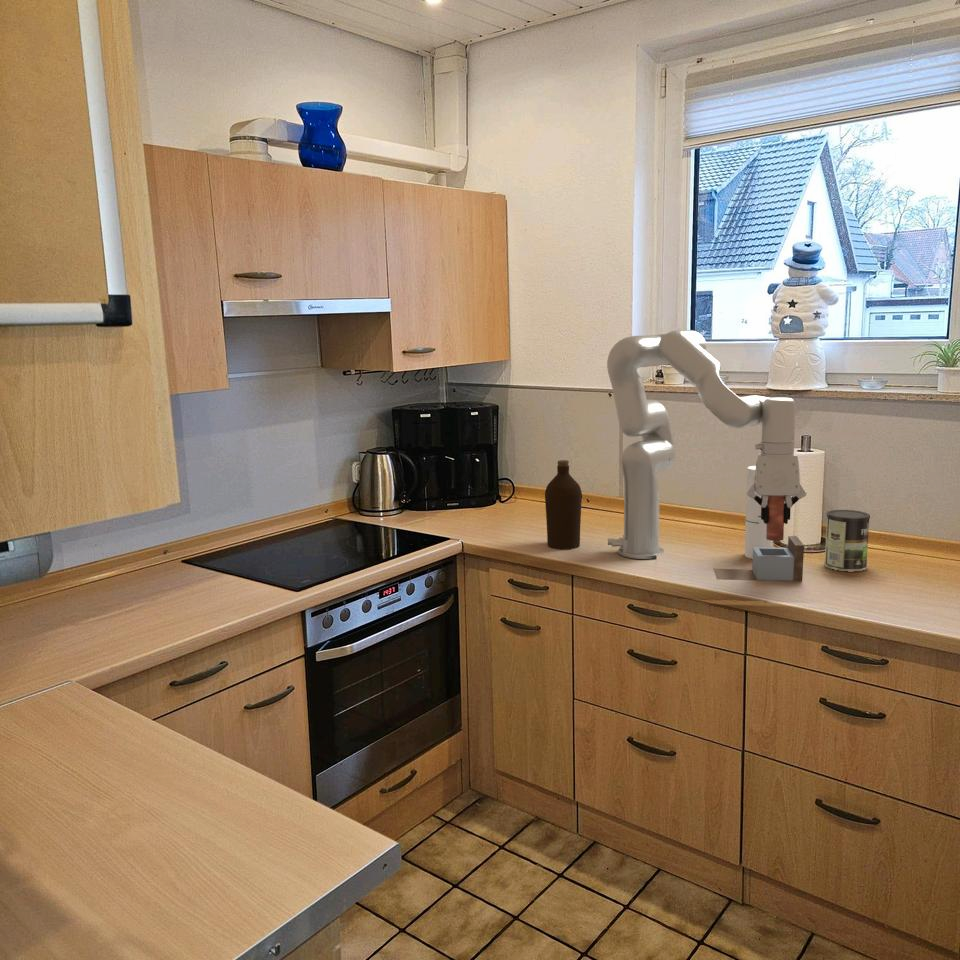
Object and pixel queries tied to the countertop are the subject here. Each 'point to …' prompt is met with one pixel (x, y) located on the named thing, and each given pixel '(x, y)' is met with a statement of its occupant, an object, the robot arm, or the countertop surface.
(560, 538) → the olive oil
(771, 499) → the dowel
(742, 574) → the rail
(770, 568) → the socket block
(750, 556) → the cylindrical container
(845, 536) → the coffee can
